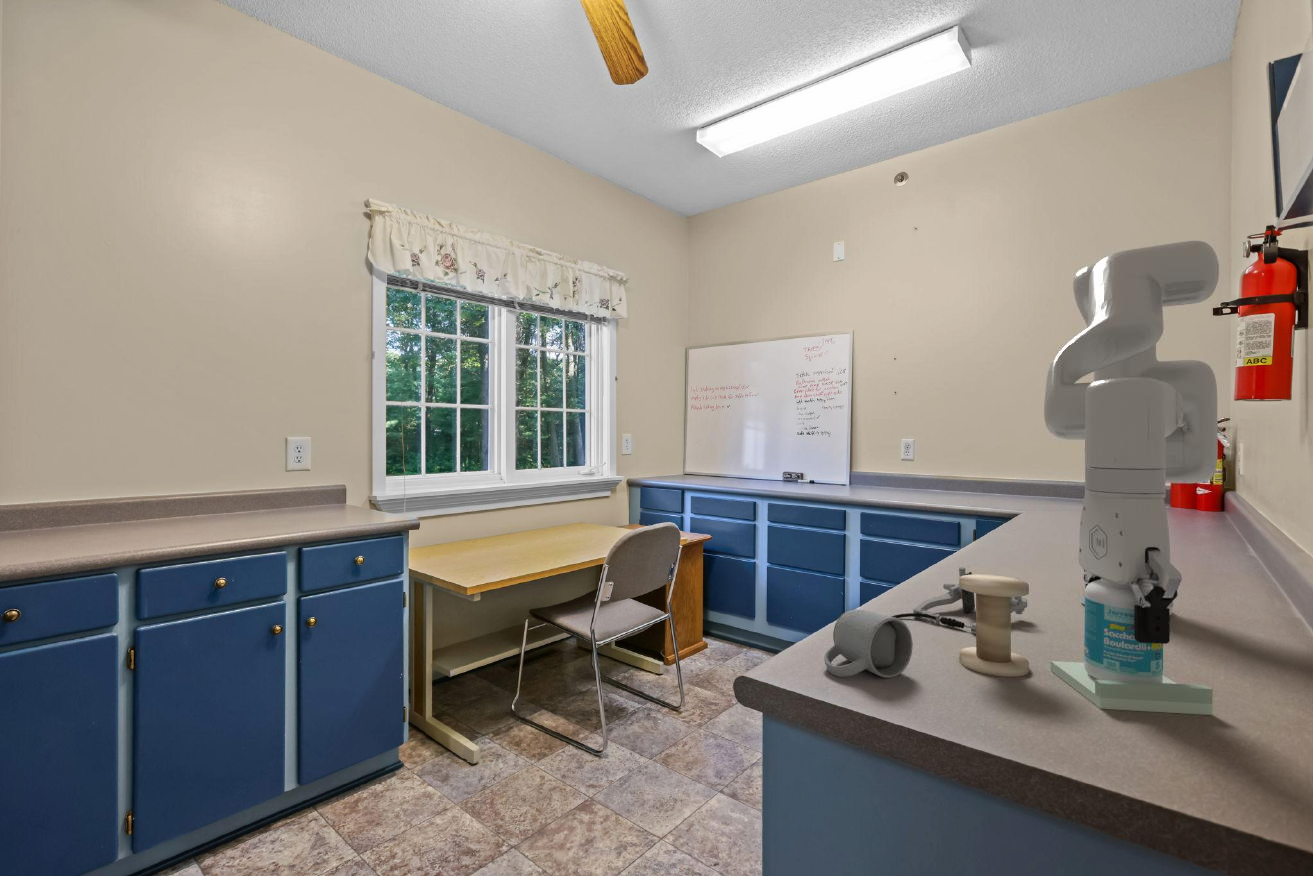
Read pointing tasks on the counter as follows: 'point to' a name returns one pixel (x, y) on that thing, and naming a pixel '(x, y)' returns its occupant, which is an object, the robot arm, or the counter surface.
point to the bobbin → (993, 626)
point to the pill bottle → (1117, 636)
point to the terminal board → (1136, 692)
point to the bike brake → (953, 596)
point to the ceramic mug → (870, 644)
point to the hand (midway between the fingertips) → (1124, 628)
